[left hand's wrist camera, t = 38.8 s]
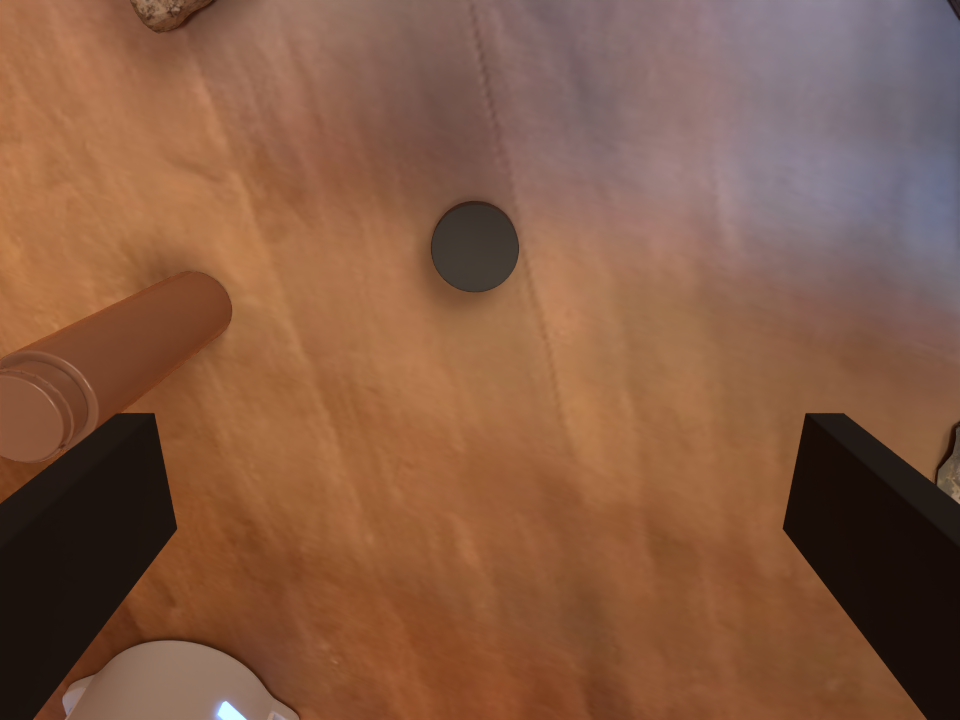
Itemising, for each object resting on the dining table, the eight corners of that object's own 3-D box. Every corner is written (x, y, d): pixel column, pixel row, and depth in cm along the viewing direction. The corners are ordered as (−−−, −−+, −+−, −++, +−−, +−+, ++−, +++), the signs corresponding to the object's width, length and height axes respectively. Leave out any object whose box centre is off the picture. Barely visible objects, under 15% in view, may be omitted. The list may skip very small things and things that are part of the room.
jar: (145, 300, 40) (-72, 410, 24) (194, 256, 39) (2, 342, 23) (198, 352, 41) (24, 491, 25) (247, 312, 40) (97, 429, 24)
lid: (527, 268, 39) (530, 275, 37) (450, 295, 40) (449, 303, 38) (501, 188, 37) (502, 191, 36) (420, 218, 38) (417, 222, 36)
